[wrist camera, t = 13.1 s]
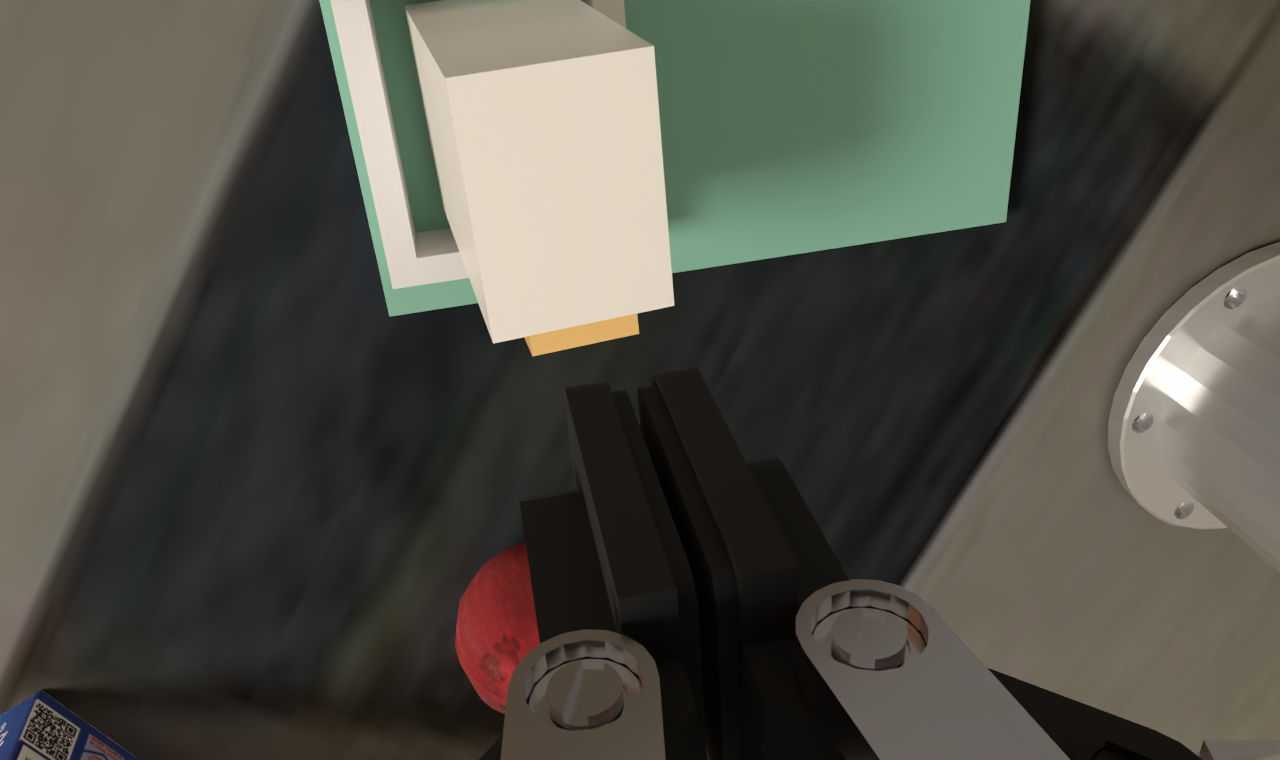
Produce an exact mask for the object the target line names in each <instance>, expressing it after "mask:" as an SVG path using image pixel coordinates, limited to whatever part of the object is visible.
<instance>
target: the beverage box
mask: <svg viewBox="0 0 1280 760" xmlns="http://www.w3.org/2000/svg"><path fill="white" fill-rule="evenodd" d="M0 760H140V759H139V758H137V757H136V756H134V755H133V754H132V753H130V752H129V751H127V750H126V749H125V748H123V747H122V746H120V745H119V744H118V743H116V742H115V741H113V740H112V739H110V738H109V737H108V736H106V735H105V734H103V733H102V732H101V731H99V730H98V729H96V728H95V727H93V726H92V725H91V724H89V723H88V722H86V721H85V720H84V719H82V718H81V717H79V716H78V715H76V714H75V713H74V712H72V711H71V710H69V709H68V708H67V707H65V706H64V705H62V704H61V703H59V702H58V701H57V700H55V699H54V698H52V697H51V696H50V695H48V694H47V693H45V692H44V691H42V690H41V691H39V692H38V693H36V694H34V695H33V696H31V697H29V698H28V699H26V700H25V701H23V702H21V703H20V704H18V705H16V706H15V707H13V708H12V709H10V710H8V711H7V712H5V713H3V714H2V715H0Z"/></svg>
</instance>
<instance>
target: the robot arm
mask: <svg viewBox="0 0 1280 760" xmlns="http://www.w3.org/2000/svg"><path fill="white" fill-rule="evenodd" d="M564 399H565V408H566V416H567V424H568V432H569V440H570V448H571V456H572V464H573V472H574V480H575V488H576V490H573V491H567V492H561V493H555V494H549V495H543V496H537V497H531V498H525V499H519V500H520V507H521V515H522V521H523V528H524V535H525V542H526V549H527V556H528V563H529V570H530V577H531V584H532V591H533V598H534V605H535V612H536V619H537V626H538V633H539V640H540V644H539V645H538V646H537V647H535V648H534V649H533V650H531V651H530V652H529V653H527V654H526V655H525V656H524V657H523V659H522V660H521V661H520V663H519V664H518V665H517V667H516V668H515V669H514V671H513V673H512V676H511V680H510V683H509V686H508V690H507V700H506V710H505V720H504V730H503V735H502V736H501V737H500V738H499V739H498V740H497V741H496V743H495V744H494V745H493V746H492V747H491V748H490V749H489V750H488V751H487V752H486V753H485V754H484V755H483V756H482V757H481V758H480V759H479V760H707V752H706V747H707V750H708V754H709V757H710V760H1280V740H1203V744H1202V747H1201V750H1200V752H1192V751H1191V750H1189V749H1188V748H1187V747H1185V746H1184V745H1183V744H1181V743H1180V742H1178V741H1176V740H1174V739H1172V738H1170V737H1168V736H1165V735H1163V734H1161V733H1159V732H1157V731H1155V730H1153V729H1150V728H1147V727H1145V726H1142V725H1139V724H1137V723H1134V722H1131V721H1129V720H1126V719H1123V718H1121V717H1118V716H1115V715H1112V714H1110V713H1107V712H1104V711H1102V710H1099V709H1096V708H1094V707H1091V706H1088V705H1086V704H1083V703H1080V702H1078V701H1075V700H1072V699H1070V698H1067V697H1064V696H1061V695H1059V694H1056V693H1053V692H1051V691H1048V690H1045V689H1043V688H1040V687H1037V686H1035V685H1032V684H1029V683H1027V682H1024V681H1021V680H1019V679H1016V678H1013V677H1010V676H1008V675H1005V674H1002V673H1000V672H997V671H994V670H992V669H989V668H987V667H986V666H985V665H984V664H983V663H982V662H981V660H980V659H979V658H978V657H977V656H976V655H975V654H974V653H973V652H972V650H971V649H970V648H969V647H968V646H967V645H966V644H965V643H964V642H963V641H962V639H961V638H960V637H959V636H958V635H957V634H956V633H955V632H954V631H953V629H952V628H951V627H950V626H949V625H948V624H947V623H946V622H945V621H944V620H943V618H942V617H941V616H940V615H939V614H938V613H937V612H936V611H935V610H934V608H933V607H931V606H930V605H929V604H928V603H927V602H925V601H924V600H923V599H922V598H921V597H919V596H918V595H917V594H915V593H912V592H910V591H908V590H906V589H904V588H902V587H900V586H898V585H894V584H890V583H885V582H881V581H877V580H855V579H854V580H849V579H848V577H847V576H846V574H845V572H844V570H843V569H842V567H841V565H840V563H839V561H838V560H837V558H836V556H835V554H834V553H833V551H832V549H831V547H830V546H829V544H828V542H827V540H826V539H825V537H824V535H823V533H822V531H821V530H820V528H819V526H818V524H817V523H816V521H815V519H814V517H813V516H812V514H811V512H810V510H809V509H808V507H807V505H806V503H805V501H804V500H803V498H802V496H801V494H800V493H799V491H798V489H797V487H796V486H795V484H794V482H793V480H792V479H791V477H790V475H789V473H788V471H787V470H786V468H785V466H784V465H783V463H782V462H781V461H780V459H779V458H777V457H770V458H764V459H758V460H752V461H746V462H745V460H744V458H743V456H742V454H741V452H740V450H739V448H738V446H737V444H736V442H735V440H734V438H733V436H732V434H731V433H730V431H729V429H728V427H727V425H726V423H725V421H724V419H723V417H722V415H721V413H720V411H719V409H718V407H717V405H716V403H715V401H714V399H713V397H712V395H711V393H710V391H709V389H708V387H707V385H706V383H705V381H704V379H703V378H702V376H701V374H700V372H699V370H698V369H697V367H694V368H687V369H681V370H674V371H668V372H661V373H655V374H653V376H652V385H651V386H645V387H639V388H638V404H639V416H640V427H639V424H638V421H637V419H636V416H635V413H634V410H633V407H632V405H631V402H630V399H629V396H628V394H627V391H626V390H619V391H613V392H611V390H610V387H609V384H608V382H607V381H603V382H596V383H590V384H583V385H577V386H570V387H564ZM640 428H641V430H640ZM1108 450H1109V455H1110V459H1111V464H1112V468H1113V470H1114V472H1115V474H1116V476H1117V478H1118V480H1119V482H1120V484H1121V486H1122V487H1123V488H1124V489H1125V490H1126V491H1127V492H1128V493H1129V494H1130V495H1131V496H1132V497H1133V498H1134V500H1135V501H1136V502H1137V503H1139V504H1140V505H1141V506H1142V507H1143V508H1144V509H1146V510H1147V511H1148V512H1150V513H1151V514H1152V515H1153V516H1155V517H1156V518H1158V519H1160V520H1162V521H1164V522H1167V523H1169V524H1171V525H1174V526H1179V527H1186V528H1192V529H1198V530H1199V529H1223V528H1229V529H1230V530H1231V531H1232V532H1233V533H1235V534H1236V535H1237V536H1238V537H1239V538H1240V539H1242V540H1243V541H1244V542H1245V543H1246V544H1247V545H1249V546H1250V547H1251V548H1252V549H1253V550H1254V551H1256V552H1257V553H1258V554H1259V555H1260V556H1261V557H1263V558H1264V559H1265V560H1266V561H1267V562H1268V563H1270V564H1271V565H1272V566H1273V567H1274V568H1275V569H1277V570H1278V571H1279V572H1280V242H1277V243H1274V244H1271V245H1269V246H1266V247H1263V248H1260V249H1257V250H1254V251H1251V252H1249V253H1247V254H1245V255H1243V256H1241V257H1239V258H1237V259H1235V260H1234V261H1232V262H1230V263H1228V264H1226V265H1224V266H1222V267H1220V268H1219V269H1217V270H1216V271H1214V272H1213V273H1212V274H1210V275H1209V276H1207V277H1206V278H1205V279H1203V280H1202V281H1200V282H1199V283H1198V284H1196V285H1195V286H1193V287H1192V288H1191V289H1190V290H1188V291H1187V292H1186V293H1185V294H1184V295H1183V296H1182V297H1181V298H1180V299H1179V300H1178V301H1177V302H1176V303H1175V304H1173V305H1172V306H1171V307H1170V308H1169V309H1168V310H1167V311H1166V312H1165V313H1164V314H1163V315H1162V317H1161V318H1160V319H1159V320H1158V322H1157V323H1156V324H1155V325H1154V326H1153V328H1152V329H1151V330H1150V331H1149V332H1148V334H1147V335H1146V336H1145V337H1144V339H1143V340H1142V342H1141V343H1140V345H1139V347H1138V348H1137V350H1136V352H1135V353H1134V355H1133V357H1132V358H1131V360H1130V361H1129V363H1128V365H1127V366H1126V369H1125V371H1124V373H1123V376H1122V378H1121V380H1120V383H1119V385H1118V388H1117V390H1116V392H1115V395H1114V399H1113V403H1112V408H1111V412H1110V416H1109V421H1108Z"/></svg>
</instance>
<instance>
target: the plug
mask: <svg viewBox="0 0 1280 760" xmlns="http://www.w3.org/2000/svg"><path fill="white" fill-rule="evenodd" d="M404 9H405V14H406V19H407V24H408V29H409V34H410V40H411V45H412V50H413V55H414V60H415V65H416V70H417V76H418V81H419V86H420V91H421V96H422V101H423V106H424V111H425V117H426V122H427V127H428V132H429V137H430V142H431V147H432V153H433V158H434V163H435V168H436V173H437V178H438V183H439V188H440V194H441V199H442V204H443V208H444V211H445V214H446V217H447V219H448V222H449V225H450V227H451V230H452V233H453V236H454V238H455V241H456V244H457V246H458V249H459V252H460V255H461V257H462V260H463V263H464V266H465V268H466V271H467V274H468V276H469V279H470V282H471V285H472V287H473V290H474V293H475V295H476V298H477V301H478V304H479V306H480V309H481V312H482V314H483V317H484V320H485V323H486V325H487V328H488V331H489V333H490V336H491V339H492V342H493V343H498V342H503V341H508V340H512V339H517V338H522V337H525V340H526V342H527V344H528V347H529V349H530V351H531V354H532V356H537V355H541V354H546V353H551V352H555V351H560V350H565V349H569V348H574V347H579V346H583V345H588V344H593V343H597V342H602V341H607V340H612V339H616V338H621V337H626V336H630V335H635V334H639V328H638V318H637V313H641V312H646V311H651V310H656V309H660V308H665V307H670V306H674V295H673V282H672V270H671V257H670V244H669V231H668V219H667V206H666V193H665V180H664V168H663V155H662V142H661V129H660V117H659V104H658V91H657V78H656V66H655V53H654V46H653V45H652V44H650V43H648V42H647V41H645V40H644V39H642V38H640V37H639V36H637V35H635V34H634V33H632V32H631V31H629V30H627V29H626V28H624V27H623V26H621V25H619V24H618V23H616V22H615V21H613V20H611V19H610V18H608V17H606V16H605V15H603V14H602V13H600V12H598V11H597V10H595V9H594V8H592V7H590V6H589V5H587V4H585V3H584V2H582V1H581V0H440V1H433V2H426V3H419V4H411V5H404Z"/></svg>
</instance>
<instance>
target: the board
mask: <svg viewBox="0 0 1280 760" xmlns="http://www.w3.org/2000/svg"><path fill="white" fill-rule="evenodd" d="M433 1H440V0H320V5H321V9H322V14H323V18H324V23H325V27H326V32H327V36H328V41H329V45H330V50H331V55H332V59H333V64H334V68H335V73H336V77H337V82H338V86H339V91H340V95H341V100H342V104H343V109H344V113H345V118H346V122H347V127H348V131H349V136H350V140H351V145H352V149H353V154H354V158H355V163H356V167H357V172H358V176H359V181H360V185H361V190H362V195H363V199H364V204H365V208H366V213H367V217H368V222H369V226H370V231H371V235H372V240H373V244H374V249H375V253H376V258H377V262H378V267H379V271H380V276H381V280H382V285H383V289H384V294H385V298H386V303H387V307H388V312H389V316H396V315H402V314H409V313H415V312H422V311H428V310H435V309H441V308H448V307H455V306H461V305H468V304H474V303H478V301H477V298H476V295H475V293H474V290H473V287H472V285H471V282H470V279H469V276H468V274H467V271H466V268H465V266H464V263H463V260H462V257H461V255H460V252H459V249H458V246H457V244H456V241H455V238H454V236H453V233H452V230H451V227H450V225H449V222H448V219H447V217H446V214H445V211H444V208H443V204H442V199H441V194H440V188H439V183H438V178H437V173H436V168H435V163H434V158H433V153H432V147H431V142H430V137H429V132H428V127H427V122H426V117H425V111H424V106H423V101H422V96H421V91H420V86H419V81H418V76H417V70H416V65H415V60H414V55H413V50H412V45H411V40H410V34H409V29H408V24H407V19H406V14H405V9H404V5H411V4H419V3H426V2H433ZM581 1H582V2H584V3H585V4H587V5H589V6H590V7H592V8H594V9H595V10H597V11H598V12H600V13H602V14H603V15H605V16H606V17H608V18H610V19H611V20H613V21H615V22H616V23H618V24H619V25H621V26H623V27H624V28H626V29H627V30H629V31H631V32H632V33H634V34H635V35H637V36H639V37H640V38H642V39H644V40H645V41H647V42H648V43H650V44H652V45H653V46H654V53H655V66H656V78H657V91H658V104H659V117H660V129H661V142H662V155H663V168H664V180H665V193H666V206H667V219H668V231H669V244H670V257H671V270H672V273H676V272H683V271H689V270H696V269H702V268H709V267H715V266H722V265H728V264H735V263H742V262H748V261H755V260H761V259H768V258H774V257H781V256H787V255H794V254H800V253H807V252H813V251H820V250H826V249H833V248H839V247H846V246H852V245H859V244H865V243H872V242H878V241H885V240H892V239H898V238H905V237H911V236H918V235H924V234H931V233H937V232H944V231H950V230H957V229H963V228H970V227H976V226H983V225H989V224H996V223H1002V222H1006V217H1007V208H1008V199H1009V190H1010V181H1011V172H1012V163H1013V154H1014V145H1015V136H1016V127H1017V118H1018V109H1019V100H1020V91H1021V82H1022V73H1023V64H1024V55H1025V46H1026V37H1027V28H1028V19H1029V10H1030V1H1031V0H581Z"/></svg>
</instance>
